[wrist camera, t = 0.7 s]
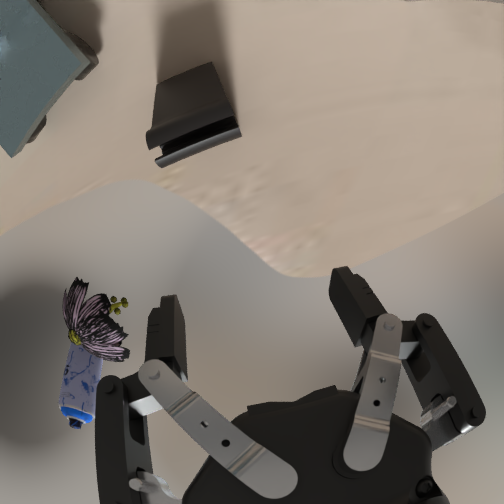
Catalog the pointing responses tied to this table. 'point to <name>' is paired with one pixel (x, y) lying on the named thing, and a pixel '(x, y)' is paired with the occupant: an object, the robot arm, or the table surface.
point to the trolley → (34, 69)
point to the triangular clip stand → (190, 115)
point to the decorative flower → (94, 323)
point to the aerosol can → (80, 386)
